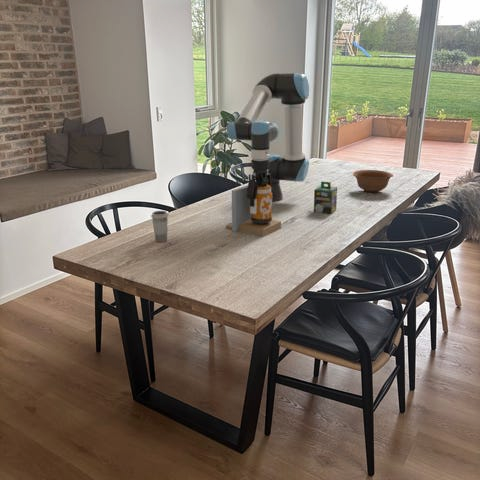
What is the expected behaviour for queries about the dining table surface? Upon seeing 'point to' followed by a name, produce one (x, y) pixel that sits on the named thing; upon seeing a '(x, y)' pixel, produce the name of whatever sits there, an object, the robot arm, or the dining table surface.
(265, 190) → the canister
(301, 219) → the dining table surface
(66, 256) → the dining table surface
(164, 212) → the cup
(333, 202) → the chalk box
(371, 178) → the bowl
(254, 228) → the wooden stand with panel
